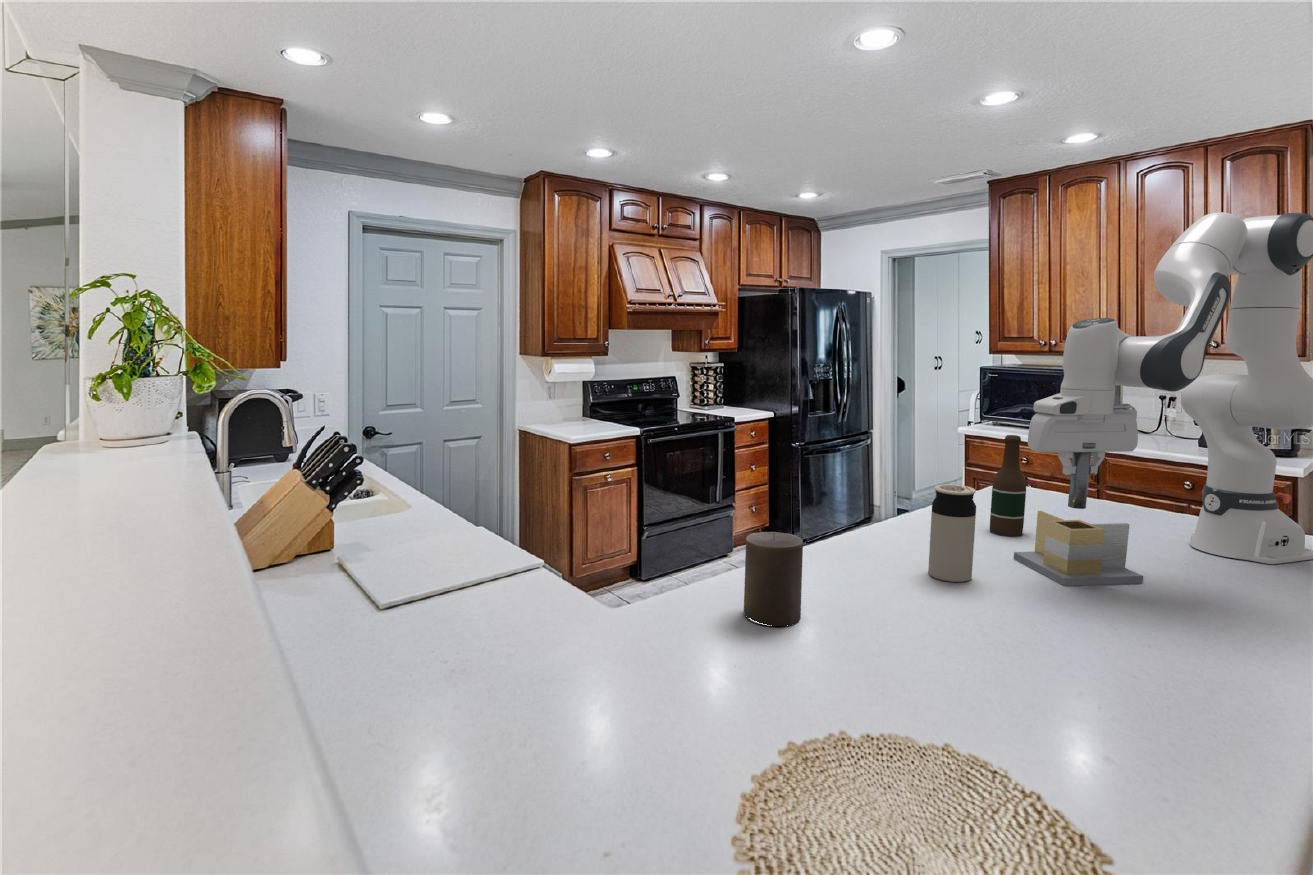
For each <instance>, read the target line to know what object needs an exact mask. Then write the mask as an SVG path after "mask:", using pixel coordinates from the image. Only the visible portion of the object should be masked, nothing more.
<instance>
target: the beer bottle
mask: <svg viewBox="0 0 1313 875" xmlns="http://www.w3.org/2000/svg"><path fill="white" fill-rule="evenodd" d="M1021 441H1022V438H1021V436H1020V435H1016V434H1014V435H1013V434H1007V435H1005V437H1004V442H1005V444H1004V449H1003V458H1002V464H1001V467H1000V468H999V470H998V471H997V472H996V474H995V476H994V479H993V482H992V489H991V500H990V501H991V502H990V517H989V532H990V533H992V534H995V535H998V536H1001V537H1002V536H1004V537H1011V538H1012V537H1015V538H1016V537H1022V536H1023V531H1024V524H1025V522H1024V521H1025V514H1026V513H1025V511H1026V510H1025V509H1026V498H1027V480H1026V477H1025V476H1026V475H1024V474H1025V473H1023V470H1022V469H1021V464H1020V463H1021V462H1020V452H1021V451H1020V448H1021V447H1020V445H1021V444H1020V443H1021Z"/></svg>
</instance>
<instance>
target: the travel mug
mask: <svg viewBox="0 0 1313 875" xmlns="http://www.w3.org/2000/svg"><path fill="white" fill-rule="evenodd" d="M933 489H934V491H935V498H934V499H933V501H932V502H931V517H930V518H931V520H930V534H929V538H930V539H929V554H928V569H927V570H928V571H927V572H928V574H929V575H930V576H931V577H933V578H935V579H936V580H940V581H943V582H944V581H945V582H949V583H963V582H967V581H970V580H971V579H972V577H973V576H972V575H973V564H974V563H973V562H974V546H975V532H976V530H975V529H976V518H977V516H976V515H977V505H976V503H975V501H974V497H975V496H974V495H975V494H976V492H977V490H976V489H975V488H973V487H971V486H968V485H961V484H960V485H959V484H948V483H947V484H939V485H938V484H937V485H935V486H934V488H933Z"/></svg>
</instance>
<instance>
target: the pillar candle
mask: <svg viewBox="0 0 1313 875" xmlns="http://www.w3.org/2000/svg"><path fill="white" fill-rule="evenodd" d="M803 549H804V541H803V539H802V538H801V537H799V536H798V535H795V534H791V533H788V532H787V533H784V532H776V531H762V532H753V533H752V532H751V533H750V534H749V535H747V536H746V537H745V557H744V558H745V562H744V563H745V564H744V593H743V594H744V595H743V597H744V598H743V614H745V615H746V616H747V617H748V618H751V619H752V620H754V621H757V622H759V623H763V624H767V625H772V626H771V627H773V626H780V627H779V628H782V627H781V626H787V625H790V626H793V625H792V624H794V625H796V624H797V623H799V622H800V621H799V620H801V618H802V617H801V615H802V586H803V584H802V581H803V556H804V555H803V551H804V550H803ZM745 615H744V616H745ZM798 621H799V622H798ZM795 623H796V624H795ZM787 627H788V626H787Z"/></svg>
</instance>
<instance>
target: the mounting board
mask: <svg viewBox="0 0 1313 875" xmlns="http://www.w3.org/2000/svg"><path fill="white" fill-rule="evenodd" d="M1013 560H1015V561H1017V562H1019V563H1021V564H1023V565H1025V566H1026V567H1028V568H1030V569H1031V570H1034V571H1035V572H1038V573H1039V574H1041V575H1043V576H1045V577H1047V578H1049V579H1051V580H1052V581H1054V582H1055V583H1058V584H1060V585H1061V586H1064V587H1066V586H1067V587H1068V586H1071V587H1072V586H1095V585H1096V586H1099V585H1129V584H1130V585H1131V584H1143V582H1144V575H1143V574H1141V573H1138V572H1136V571H1133V570H1131V569H1129V568H1127V567H1125V568H1102V569H1101V574H1094V575H1065V574H1063V573H1061V572H1059V571H1057V570H1055V569H1053V568H1051V567H1049V566H1047V565H1045V564H1043V560H1044V556H1043V555H1041V554H1039V553H1037V552H1035V550H1034V551H1014V552H1013Z"/></svg>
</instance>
